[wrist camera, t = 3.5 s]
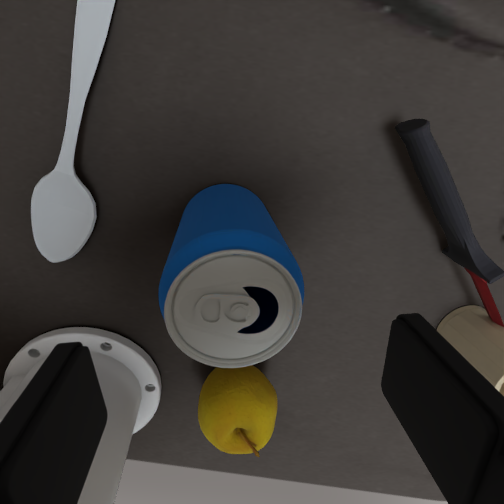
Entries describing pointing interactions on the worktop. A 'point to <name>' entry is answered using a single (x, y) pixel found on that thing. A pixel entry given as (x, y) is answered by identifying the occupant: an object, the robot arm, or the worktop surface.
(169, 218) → the worktop surface
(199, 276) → the beverage can
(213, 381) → the apple
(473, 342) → the mug
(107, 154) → the worktop surface
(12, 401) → the robot arm
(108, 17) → the spoon
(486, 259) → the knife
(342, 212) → the worktop surface
